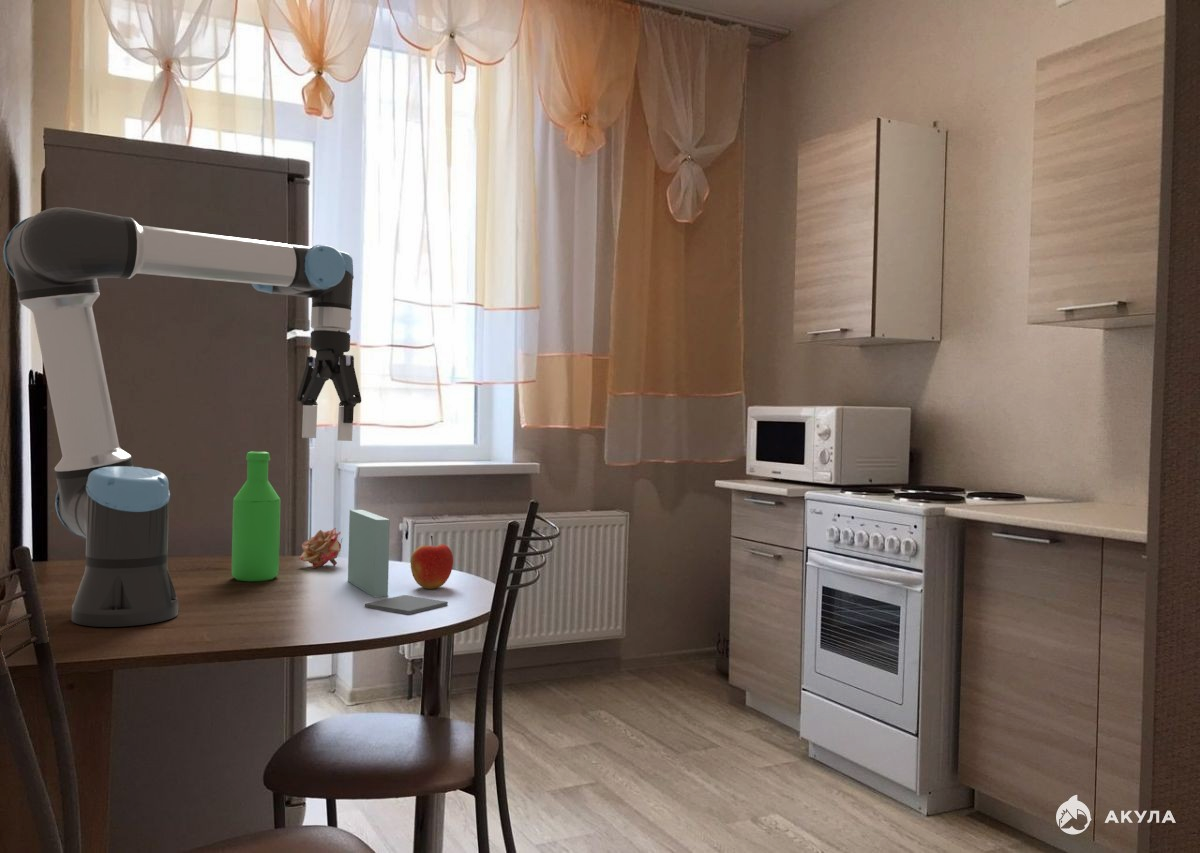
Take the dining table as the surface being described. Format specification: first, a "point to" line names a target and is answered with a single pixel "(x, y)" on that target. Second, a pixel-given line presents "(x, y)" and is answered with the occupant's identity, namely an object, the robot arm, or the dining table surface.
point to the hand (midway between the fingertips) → (326, 439)
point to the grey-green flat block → (369, 552)
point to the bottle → (256, 524)
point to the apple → (431, 565)
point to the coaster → (406, 604)
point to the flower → (321, 548)
